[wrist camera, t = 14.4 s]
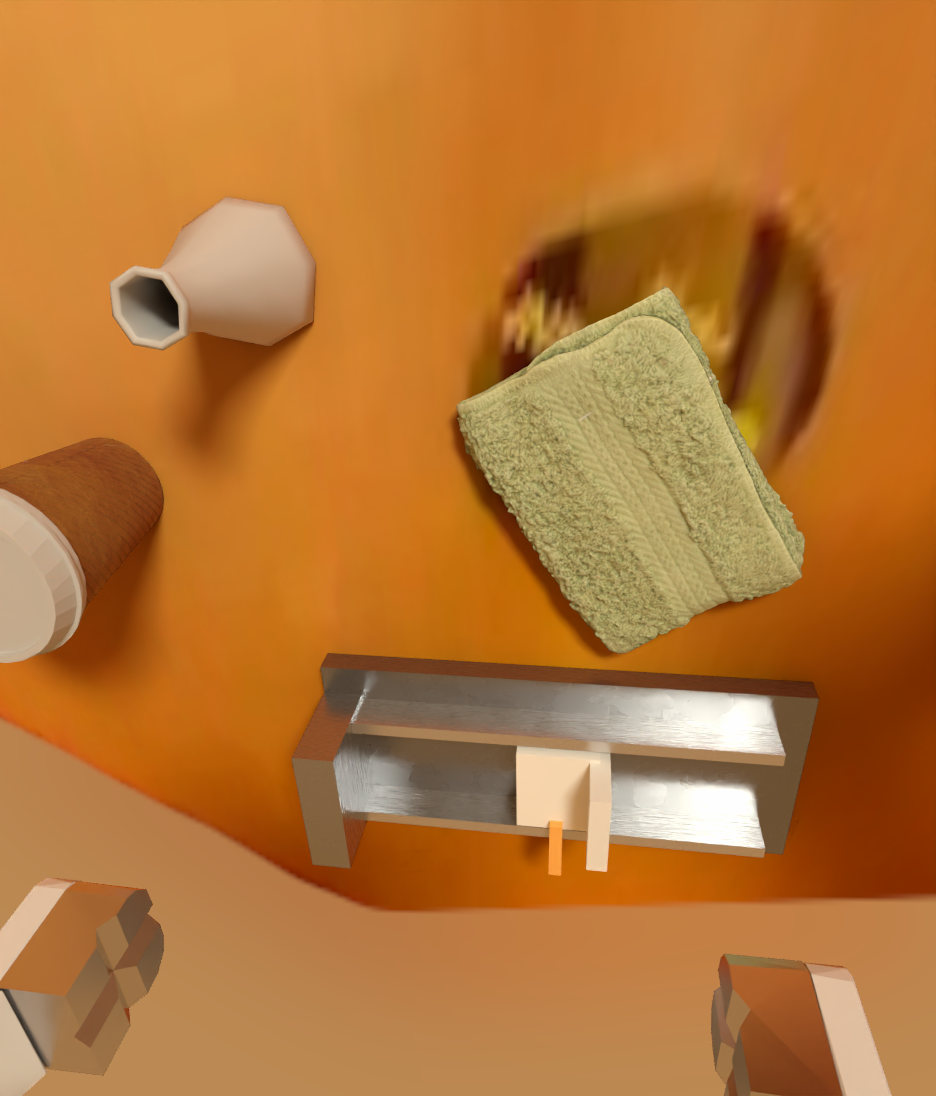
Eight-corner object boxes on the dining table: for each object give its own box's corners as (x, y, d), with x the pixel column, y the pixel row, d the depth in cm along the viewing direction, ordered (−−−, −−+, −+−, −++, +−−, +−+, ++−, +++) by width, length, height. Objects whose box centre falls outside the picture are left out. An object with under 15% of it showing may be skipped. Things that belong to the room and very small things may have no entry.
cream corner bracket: (609, 733, 45) (611, 800, 41) (602, 843, 50) (603, 914, 45) (519, 727, 46) (511, 792, 42) (520, 835, 51) (512, 904, 46)
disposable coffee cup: (149, 396, 41) (-1, 478, 31) (212, 544, 46) (99, 661, 35) (11, 426, 44) (-172, 511, 33) (84, 564, 48) (-59, 679, 37)
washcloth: (666, 268, 35) (672, 277, 32) (813, 555, 40) (830, 585, 38) (442, 406, 40) (430, 425, 37) (601, 645, 45) (602, 678, 43)
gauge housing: (812, 682, 44) (851, 775, 37) (777, 836, 50) (805, 939, 43) (328, 653, 48) (286, 731, 42) (350, 797, 54) (316, 885, 48)
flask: (335, 334, 38) (259, 387, 30) (210, 355, 40) (103, 410, 31) (297, 182, 35) (199, 190, 26) (162, 210, 37) (28, 227, 28)
